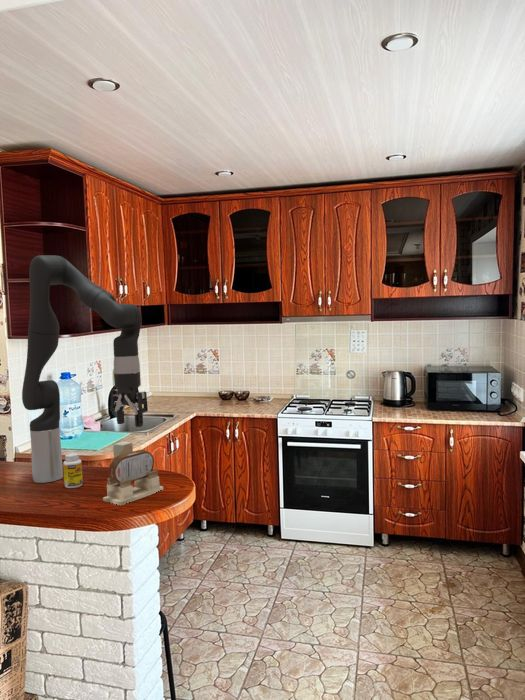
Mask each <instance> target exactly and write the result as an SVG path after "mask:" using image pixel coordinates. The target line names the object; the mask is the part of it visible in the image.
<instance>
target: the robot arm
mask: <svg viewBox="0 0 525 700" xmlns="http://www.w3.org/2000/svg"><path fill="white" fill-rule="evenodd" d="M28 273H29V278H28V279H29V300H30V301H29V302H30V303H29V320H28V330H27V331H28V332H27V349H26V350H27V352H26V353H27V355H26V364H25V371H24V377H23V381H22V383H23V384H22V389H21V400H22V404H23V405H22V406H24V409H26V410H27V411H36V410H37V411H38V410H42V409H44V410H43V412H42V413H41V414H40V415H39V416H37V417H36V418H34V419H32V420H31V421H30V422H29V434H30V435H29V437H30V449H31V452H30V457H31V458H30V459H31V470H32V480H33V482H34V483H38V484H42V483H43V484H44V483H50V482H55V481H58V480H61V479H63V478H64V469H63V459H62V457H63V456H62V443H61V428H60V421H61V397H60V396H61V394H60V387H59V385H58V383H57V382H56V381H55V380H52V379H48V380H40V378H41V374H42V373H43V369H44V368H45V366H47V365H46V364H47V363H48V362H49V361H50V360H51V358H52V356H53V355H54V353H55V352H56V350H57V349H58V346H59V338H60V323H59V321H58V318H57V315H56V313H55V312H54V310H53V308H52V306H51V302H50V289H51V288H50V287H51V286H57V285H63V286H66V287H67V288H70V289H72V290H73V291H74V292H75V293H76V295H77V298H78V300H79V301H81V303H82V304H83V305H85V306H86V307H88V308H89V309H91V310H93V311H94V312H95V313H97V314H98V315H99V316H100V317H101V318H102V319H103V320H104V322H105V323H106V324H108V325H109V326H110V327H113V328H117V329H121V330H120V334H119V335H118V336H116V337H114V339H113V341H112V342H113V356H114V357H113V378H114V388H116V389H111V390H110V409H111V410H114V412H116V424H118V425H123V424H124V423H125V411H124V410H125V408H126V407H127V406H128V407H130V409H132V410H133V412H134V426H135V428H140V427H143V424H144V417H143V416H144V415H143V414H144V413H147V412H148V411H149V410H148V409H149V408H148V406H149V405H148V398H147V392H146V391H145V390H144V391H139V387H141V386H142V383H141V382H142V381H141V364H140V363H141V362H140V357H139V343H138V341H139V337H140V332H141V326H142V313H141V310H140V308H139V307H138V306H137V305H136V304H133V303H120V302H119V303H118V302H117V299H116V297H115V296H114V295H113V294H112V293H111V292H109V291H108V290H105V289H104V288H102V287H101V286H99V285H97V284H96V283H95V282H93V280H90V279H89V278H87V276H85V275H84V274H83V273H82V272H81V271H80V270H78V268H76V267H75V266H74V265H73V264H72V263H71V262H70V261H68V260H67V259H66V258H65V257H64V256H61V255H56V254H55V255H51V254H49V255H45V254H44V255H42V254H40V255H35V256H34V257H33V258H32V260H31V261H30V264H29V271H28ZM115 402H116V403H115Z"/></svg>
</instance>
